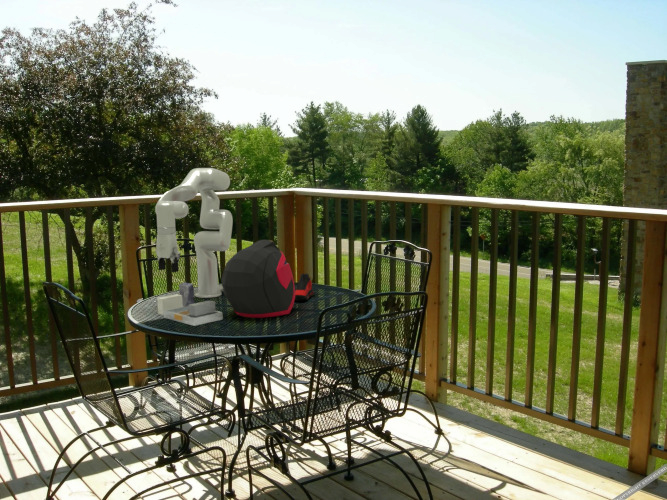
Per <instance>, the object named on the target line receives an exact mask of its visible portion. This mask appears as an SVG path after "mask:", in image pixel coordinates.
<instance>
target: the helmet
mask: <svg viewBox="0 0 667 500" xmlns="http://www.w3.org/2000/svg"><path fill="white" fill-rule="evenodd" d="M286 259H287V257H285V254H284V253H283V251H281V250H280V248H279V247H278V245H277V244H276V243H275V242H274V241H273V240H270V239H260V240H258V241H256V242H254V243H252V244H250V245H249V246H247V247H245V248H242V249H240V250H239V251H238V252H236V253H235V254H233V256H232V257H230V259H229V260H227V262H226V263H225V267H224V269H223V272H222V275H221V278H220V281H221V286H223V290H222V291H223V295H224V296H225V297H226V299H227V301H228V303H229V304H230V306H231V307H232V311H233V312H234V313H235V314H236V315H238V316H241V317H245V318H254V319H255V318H257V319H258V318H263V319H265V318H273V317H278V316H283V315H288V314H290V313H291V311H292V309H293V307H294V303H295V301H296V300H295V291H296V287H295V280H294V276H293V272H292V269H291V265H290V263H288V262H287V261H286Z"/></svg>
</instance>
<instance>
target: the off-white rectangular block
mask: <svg viewBox="0 0 667 500" xmlns="http://www.w3.org/2000/svg"><path fill="white" fill-rule="evenodd" d="M179 294H180V293H179ZM179 294H178V293H177V294H169V295H165V296H159V297H157V298H156V300H157V301H156V302H157V303H156V304H157V314H159V315H162V316H163V311H164V310H169V309H174V308H179V307H184V306H183V302H182V295H179Z"/></svg>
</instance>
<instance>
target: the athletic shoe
mask: <svg viewBox="0 0 667 500" xmlns="http://www.w3.org/2000/svg"><path fill="white" fill-rule="evenodd" d="M314 294H315V293H314V290H313V283H312V280H311V277H310V275H309V273H301V274H300V276H299V280H298V283H297V287H296V289H295V300H294V301H298V302H299V301H300V302H306V301H308V300H309V299H310V297H313V296H314Z"/></svg>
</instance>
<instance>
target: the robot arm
mask: <svg viewBox="0 0 667 500" xmlns="http://www.w3.org/2000/svg"><path fill="white" fill-rule="evenodd" d="M230 185H231V179H230V177H229V175H228V174H227V172H224V171H222V170H219V169H217V168H213V167H198V168H197V167H196V168H193V169H191V170H190V171H189V172H188V173H187V175H186V176H185V178H184V179H183V180H182V182H181V183H180V184H179V185H177V186H175V187H173V188H172V189H170V190H168V191H166V192H164V194H162V196H161V197H160V198H158V199H159V200H158V201H157V202H156V205H155V210H154V211H155V214H156V227H157V229H156V230H157V235H156V249H155V253H156V258H157V261H158V270H159V271H163V270H166V269H167V265H166V260H167V259H169V260H170V261H171V264H170V266H171V272H172V273H177V272H179V262H180V257H181V252H180V251H179V249H178V239H177V235H176V234H177V233H176V230H177V229H176V219H183V218H185V217H186V216H187V215H188V214H189V210H190V209H189V206H188V204H187V203H186V202H188V201H190V200H193V199H194V198H196V196H197V195H198V194H200V197H201V208H200V215H199V216H200V217H199V225H200V227H201V228H203V229H206V230H203V231H198V232H197V233H195V235H194V236H193V244H194V248H195V254H196V265H197V267H196V270H197V271H196V272H197V288H198V289H197V290H198V291H197V292H196V293H194V296H195V297H196V298H200V299H201V298H202V299H203V298H204V299H209V298H217V297H221V296H222V291H223V286H222V285H219V281H218V279H219V278H218V277H219V276H218V259H217V256H216V254H215V253H214V252H226V251H228V250H229V248H230V246H231V240H232V232H233V214H232V213H231V211H230V210H228V209H220V202H221V201H220V198H219V196H218V195H217V192H215V191H226V190H227V189H228V188H229V187H230ZM207 230H208V231H207ZM213 230H219V231H213Z"/></svg>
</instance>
